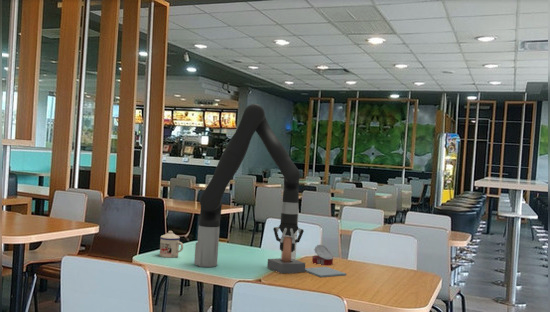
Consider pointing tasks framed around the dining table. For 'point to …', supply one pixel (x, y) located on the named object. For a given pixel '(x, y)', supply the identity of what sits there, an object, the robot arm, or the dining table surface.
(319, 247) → the canned food
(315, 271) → the mat
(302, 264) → the gray square hole block
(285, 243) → the plug
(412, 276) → the dining table surface
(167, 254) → the teacup with lid
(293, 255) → the cylindrical container
